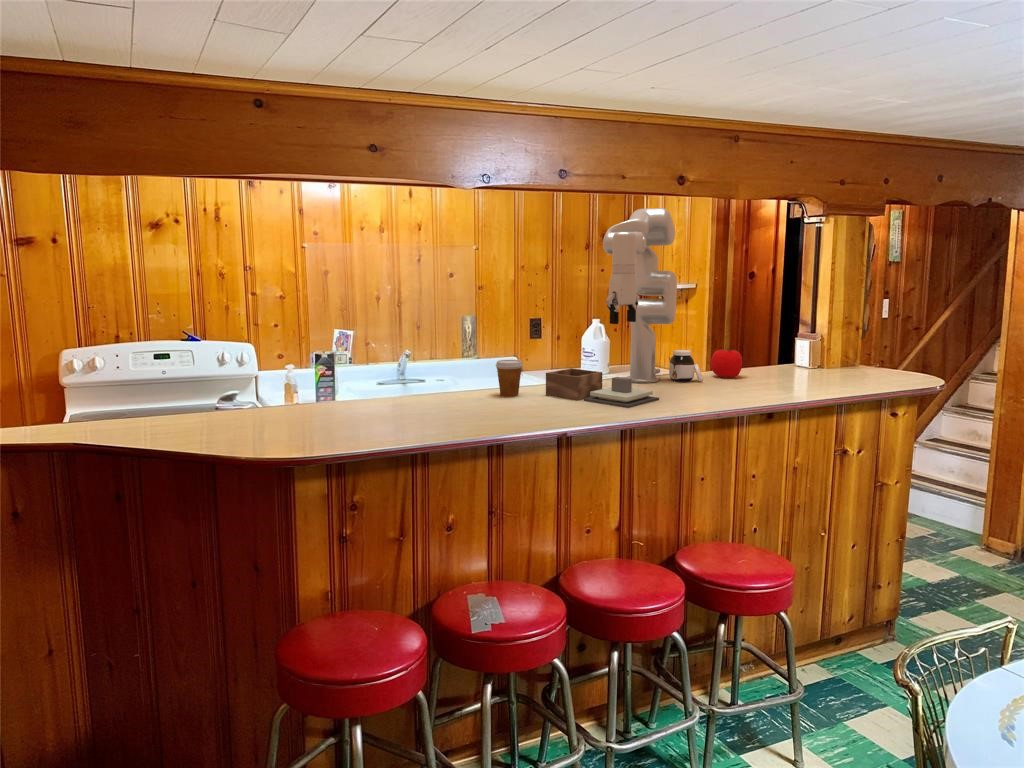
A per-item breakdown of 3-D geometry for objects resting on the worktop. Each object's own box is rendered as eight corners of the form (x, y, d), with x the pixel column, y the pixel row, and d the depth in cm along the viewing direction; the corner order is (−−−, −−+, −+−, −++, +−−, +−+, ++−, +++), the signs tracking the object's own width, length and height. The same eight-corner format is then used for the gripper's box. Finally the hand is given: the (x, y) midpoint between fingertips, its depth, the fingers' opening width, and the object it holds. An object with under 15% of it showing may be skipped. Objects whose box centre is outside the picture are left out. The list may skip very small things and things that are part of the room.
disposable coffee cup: (525, 393, 262) (525, 359, 260) (519, 398, 253) (519, 363, 251) (499, 392, 264) (499, 359, 262) (492, 397, 255) (492, 362, 253)
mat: (615, 393, 260) (615, 391, 260) (659, 399, 248) (659, 397, 247) (583, 400, 247) (583, 398, 247) (628, 408, 235) (628, 405, 235)
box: (571, 390, 267) (571, 368, 266) (602, 394, 258) (602, 372, 256) (545, 395, 257) (545, 372, 256) (577, 400, 248) (577, 377, 246)
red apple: (726, 380, 284) (728, 351, 282) (702, 376, 296) (703, 347, 294) (749, 378, 290) (751, 349, 288) (724, 373, 302) (725, 345, 300)
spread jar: (665, 379, 289) (666, 349, 287) (691, 377, 292) (692, 348, 290) (681, 384, 278) (682, 353, 276) (707, 382, 281) (709, 352, 279)
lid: (616, 392, 258) (616, 373, 257) (652, 397, 248) (653, 377, 246) (589, 398, 247) (590, 378, 246) (627, 404, 237) (627, 383, 236)
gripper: (629, 269, 249) (628, 320, 252) (598, 271, 236) (597, 324, 239) (648, 270, 244) (647, 321, 247) (617, 271, 231) (616, 325, 234)
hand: (622, 322), depth 243 cm, fingers open, 9 cm apart
